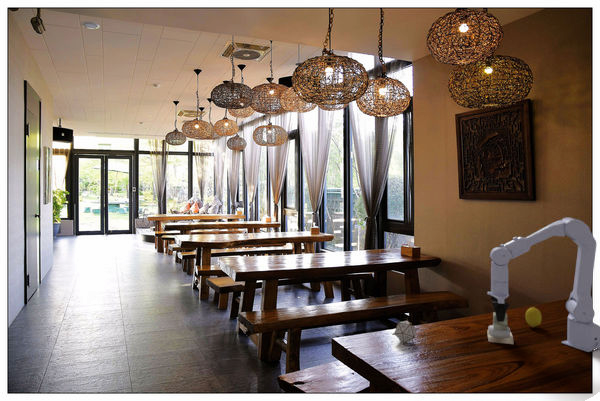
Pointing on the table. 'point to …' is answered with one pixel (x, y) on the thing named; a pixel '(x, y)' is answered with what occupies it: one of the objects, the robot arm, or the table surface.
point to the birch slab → (501, 339)
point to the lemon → (533, 317)
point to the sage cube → (499, 323)
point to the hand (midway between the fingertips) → (499, 318)
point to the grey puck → (498, 332)
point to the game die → (405, 331)
